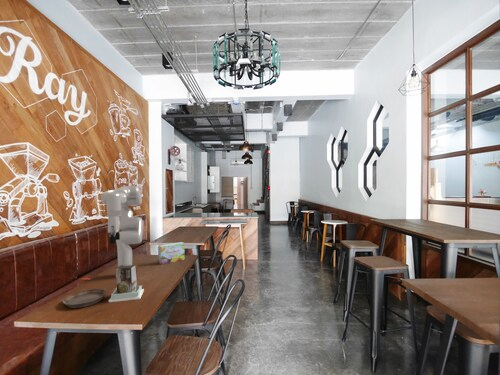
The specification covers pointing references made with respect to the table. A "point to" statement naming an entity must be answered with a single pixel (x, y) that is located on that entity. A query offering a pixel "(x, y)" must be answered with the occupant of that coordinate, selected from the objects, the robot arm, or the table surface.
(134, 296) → the stand
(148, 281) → the table surface
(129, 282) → the coffee box
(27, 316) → the table surface
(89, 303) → the plant saucer
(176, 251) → the snack box
